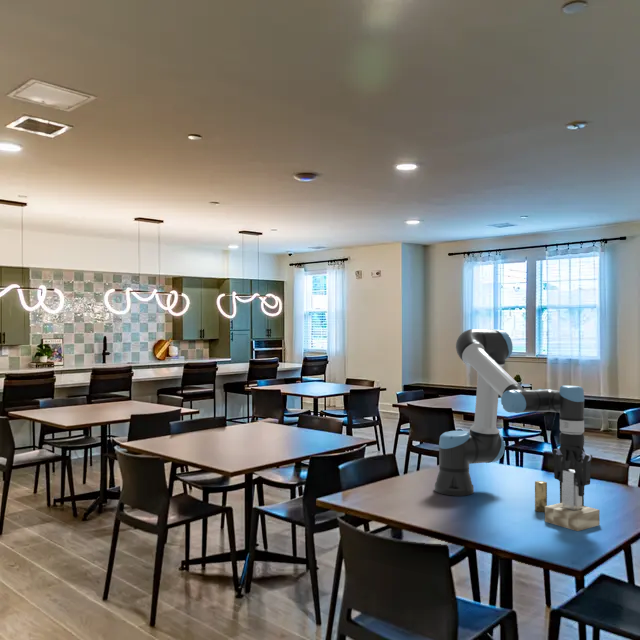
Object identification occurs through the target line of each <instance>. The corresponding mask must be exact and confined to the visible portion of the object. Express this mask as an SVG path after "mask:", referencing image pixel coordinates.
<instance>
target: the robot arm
mask: <svg viewBox="0 0 640 640" xmlns="http://www.w3.org/2000/svg"><path fill="white" fill-rule="evenodd" d="M513 347H514V346H513V340H512V338H511V337H510V335H509V334H508V333H507V332H506V331H505V330H502V329H496V328H495V329H491V328H490V329H489V328H488V329H486V328H485V329H482V328H480V329H476V328H471V329H467V330H465V331H463V332H461V334H459V336H458V337H457V340H456V343H455V349H456V353H457V355H458V358H459V359H460V360H461V361H463V363H465V365H469V366H471V367H472V368H473V370H475V371H476V372H477V380H476V381H477V383H476V393H475V394H476V397H475V407H474V408H475V409H474V420H473V421H474V423H473V424H472V425H471V426H470V428H469V431H467V430H461V429H460V430H450V431H445V432H443V433H442V434H441V435H440V436H439V442H438V447H439V450H438V451H439V454H438V455H439V458H438V459H439V460H438V463H439V466H438V468H439V469H438V470H439V471H438V473H437V477H436V482H435V483H434V491H435V493H438V494H442V495H444V496H445V495H448V496H456V497H457V496H458V497H461V496H471V495H473V494H474V490H475V489H474V484H473V483H472V478H471V474H470V464H484V463H485V464H489V463H494V462H497V461H499V460H500V459H501V458H502V457H503V455H504V453H505V448H506V443H505V441H504V437H503V435H502V434H501V433H500V429H499V428H497V420H498V419H497V417H498V405H499V397H500V398H501V399H500V402H501V405H502V409H504V411H506V412H508V413H514V414H521V413H541V412H542V413H543V412H545V413H547V412H551V413H559V431H560V433H559V443H560V446H559V448H554V449H552V451H551V452H552V456H553V471H554V472H553V473H554V474H553V477H554V479H555V480H558V482H559V492H560V491H561V492H562V503H563V470H568V469H569V465H570V462H571V461H572V463H573V465H574V469H575V474H576V479H577V485H576V486H575V506H581V505H582V496H584V497H585V486H588V485H591V465H592V464H591V462H592V459H593V454H588V453H587V452H585V451H586V450H585V449H584V446H585V434H584V432H585V393H584V391H585V390H584V388H583V387H582V386H580V385H579V386H578V385H560V387H559V390H556V389H549V388H538V389H525V388H523V387H522V385H520V384H519V383H518V382H517V381H516V380H515V378H513V377H512V376H511V375H510V374H509V373H508V372H507V371H506V369H504V368H503V366H505V364H506V359H509V358H510V357H511V355H512V354H513V350H514V349H513ZM562 457H563V458H562ZM561 458H562V462H561ZM582 461H583V470H582V465H581V464H582Z"/></svg>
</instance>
